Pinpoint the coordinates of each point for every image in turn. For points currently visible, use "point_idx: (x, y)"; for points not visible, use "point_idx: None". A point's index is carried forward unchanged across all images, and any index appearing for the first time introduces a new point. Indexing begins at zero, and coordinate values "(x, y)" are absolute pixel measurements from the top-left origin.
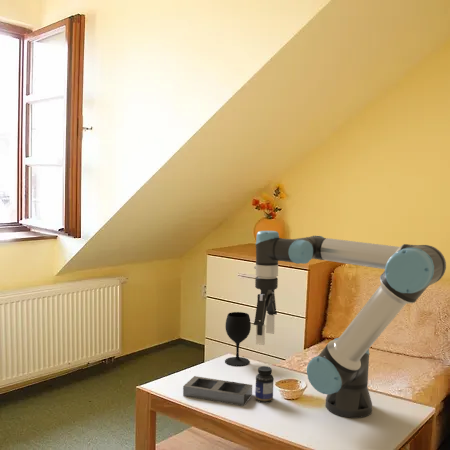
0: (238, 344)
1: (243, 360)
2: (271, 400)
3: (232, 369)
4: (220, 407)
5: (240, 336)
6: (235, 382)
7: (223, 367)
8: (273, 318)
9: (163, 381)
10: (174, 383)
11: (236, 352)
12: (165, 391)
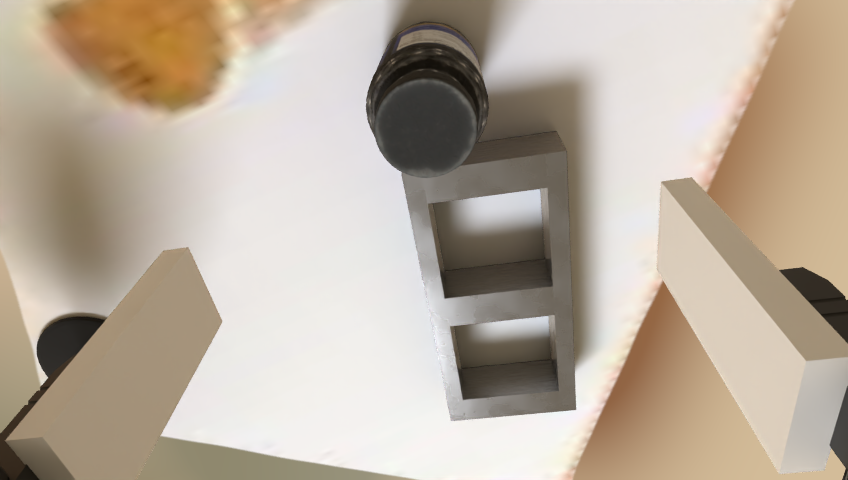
0: None
1: (75, 348)
2: (437, 23)
3: None
4: (615, 215)
5: None
6: (420, 258)
7: (202, 381)
8: (79, 399)
9: (475, 476)
10: (471, 445)
11: None
12: (556, 437)
